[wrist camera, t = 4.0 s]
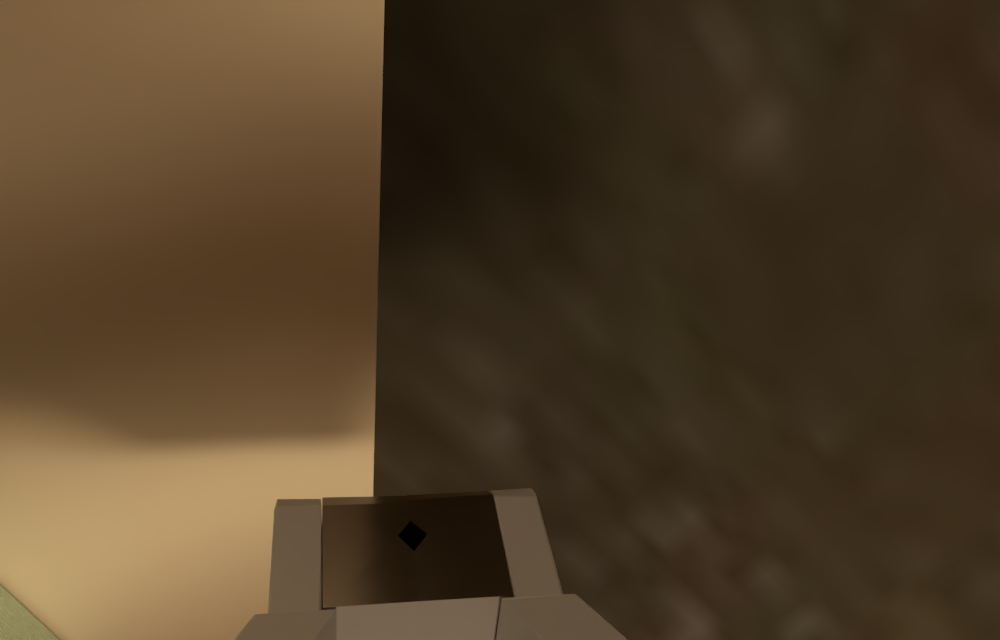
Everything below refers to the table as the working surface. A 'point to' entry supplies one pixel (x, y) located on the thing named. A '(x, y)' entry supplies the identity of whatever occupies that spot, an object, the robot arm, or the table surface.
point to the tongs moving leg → (19, 621)
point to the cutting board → (181, 298)
